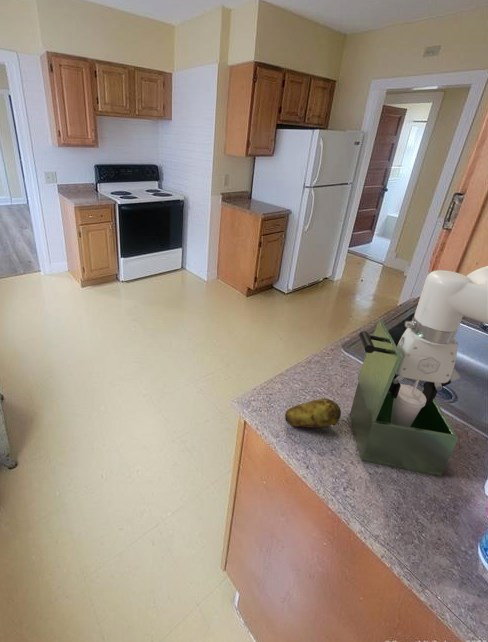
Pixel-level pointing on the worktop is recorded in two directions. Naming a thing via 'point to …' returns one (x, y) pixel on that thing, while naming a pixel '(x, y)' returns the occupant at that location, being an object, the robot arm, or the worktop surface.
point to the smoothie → (407, 405)
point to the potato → (314, 413)
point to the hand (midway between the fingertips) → (409, 395)
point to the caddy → (403, 437)
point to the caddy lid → (377, 367)
